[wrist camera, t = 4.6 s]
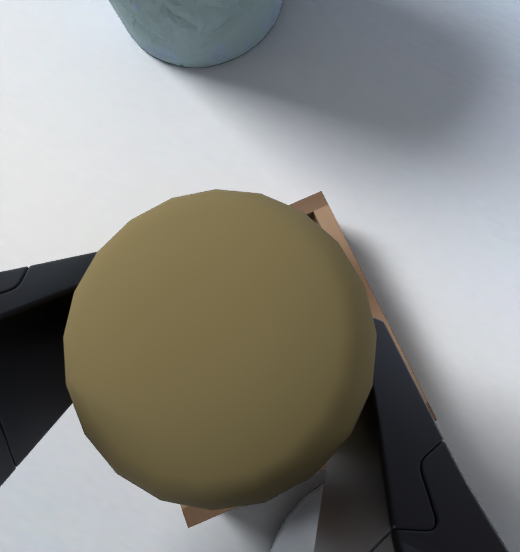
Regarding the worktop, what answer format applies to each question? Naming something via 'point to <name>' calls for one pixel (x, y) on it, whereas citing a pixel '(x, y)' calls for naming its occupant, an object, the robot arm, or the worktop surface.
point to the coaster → (300, 525)
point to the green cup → (197, 28)
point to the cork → (219, 349)
